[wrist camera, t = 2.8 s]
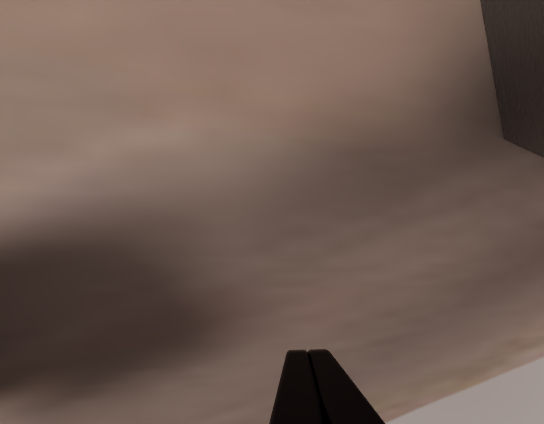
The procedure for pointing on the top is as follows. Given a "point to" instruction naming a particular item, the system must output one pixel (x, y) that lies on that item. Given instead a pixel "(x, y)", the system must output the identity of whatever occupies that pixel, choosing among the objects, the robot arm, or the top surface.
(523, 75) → the box
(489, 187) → the top surface
